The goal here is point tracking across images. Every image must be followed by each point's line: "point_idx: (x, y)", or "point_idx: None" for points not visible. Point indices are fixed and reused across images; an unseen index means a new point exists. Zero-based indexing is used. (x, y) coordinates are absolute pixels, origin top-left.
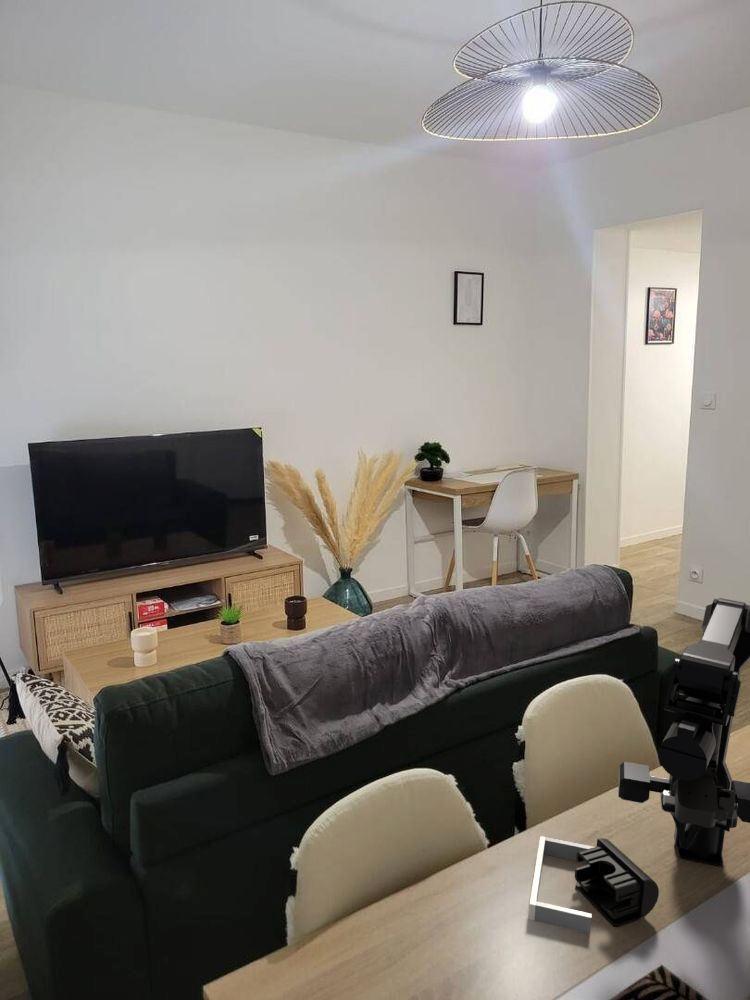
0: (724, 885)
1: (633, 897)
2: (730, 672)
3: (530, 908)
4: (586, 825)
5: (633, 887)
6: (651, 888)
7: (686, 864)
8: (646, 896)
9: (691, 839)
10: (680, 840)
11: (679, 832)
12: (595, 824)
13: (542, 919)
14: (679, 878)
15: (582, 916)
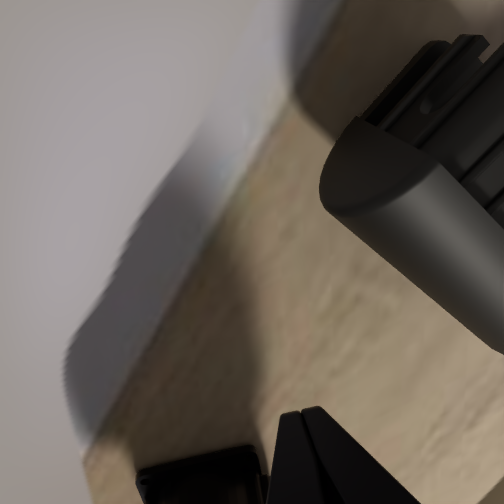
0: (118, 408)
1: (433, 113)
2: None
3: None
4: (496, 432)
5: (466, 122)
6: (372, 181)
7: (231, 431)
8: (377, 151)
9: (280, 485)
10: (350, 443)
11: (400, 502)
12: (472, 446)
13: None
14: (244, 372)
15: None
